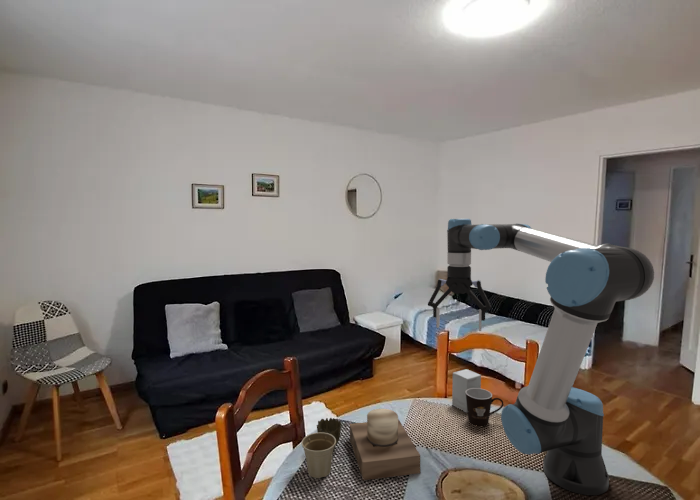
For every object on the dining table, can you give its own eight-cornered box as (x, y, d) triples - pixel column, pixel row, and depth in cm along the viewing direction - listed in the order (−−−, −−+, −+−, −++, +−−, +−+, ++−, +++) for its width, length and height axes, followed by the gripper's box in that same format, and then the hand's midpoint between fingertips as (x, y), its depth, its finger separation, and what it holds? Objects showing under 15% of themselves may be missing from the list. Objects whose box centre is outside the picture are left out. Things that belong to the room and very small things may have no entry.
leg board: (420, 473, 106) (420, 455, 105) (362, 480, 103) (362, 462, 103) (398, 433, 125) (398, 418, 125) (349, 439, 123) (349, 423, 122)
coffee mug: (461, 423, 131) (461, 395, 131) (469, 413, 138) (470, 386, 138) (497, 434, 125) (497, 403, 124) (503, 422, 132) (504, 394, 131)
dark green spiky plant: (338, 457, 113) (338, 431, 112) (314, 454, 114) (313, 428, 114) (343, 443, 120) (343, 418, 120) (320, 440, 122) (320, 416, 121)
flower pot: (304, 460, 112) (304, 431, 111) (337, 461, 111) (337, 432, 111) (299, 482, 102) (299, 451, 102) (335, 483, 102) (334, 451, 101)
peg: (402, 459, 110) (402, 422, 110) (371, 463, 109) (370, 425, 108) (393, 441, 119) (393, 407, 119) (364, 445, 118) (364, 410, 117)
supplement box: (466, 413, 138) (466, 379, 137) (451, 405, 145) (451, 372, 144) (481, 408, 142) (481, 374, 141) (465, 400, 148) (466, 368, 147)
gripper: (499, 265, 128) (498, 328, 129) (423, 263, 136) (423, 322, 138) (499, 267, 121) (498, 334, 122) (419, 265, 129) (419, 328, 130)
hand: (458, 328), depth 130 cm, fingers open, 13 cm apart
